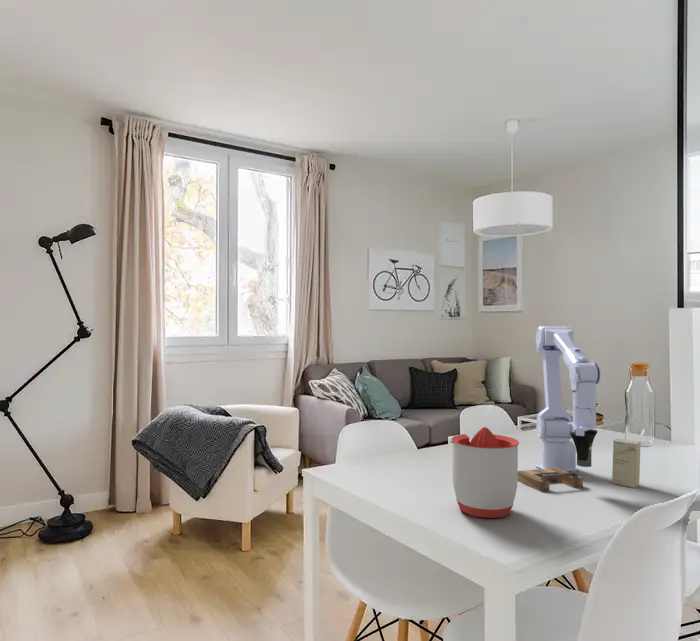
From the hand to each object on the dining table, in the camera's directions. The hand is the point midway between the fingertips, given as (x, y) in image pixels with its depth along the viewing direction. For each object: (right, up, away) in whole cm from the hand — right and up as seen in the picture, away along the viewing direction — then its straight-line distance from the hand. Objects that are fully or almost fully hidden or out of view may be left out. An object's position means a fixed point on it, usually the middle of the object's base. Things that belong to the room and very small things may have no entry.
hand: (583, 458), depth 147 cm
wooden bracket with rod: (-7, -9, +8) cm, 14 cm away
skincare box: (+15, -9, +7) cm, 19 cm away
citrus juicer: (-30, -9, -15) cm, 35 cm away
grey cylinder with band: (0, -2, 0) cm, 2 cm away
